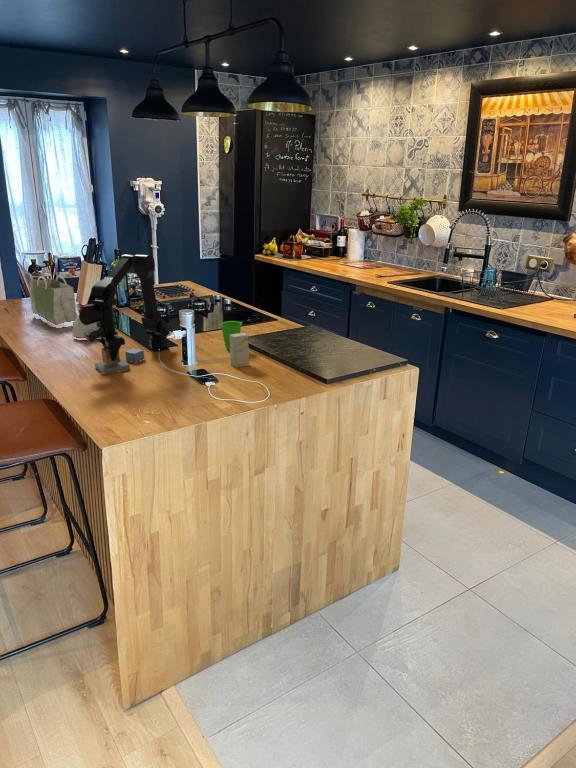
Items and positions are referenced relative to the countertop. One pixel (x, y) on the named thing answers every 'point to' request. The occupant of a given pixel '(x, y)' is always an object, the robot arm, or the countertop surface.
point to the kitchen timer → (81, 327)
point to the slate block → (134, 355)
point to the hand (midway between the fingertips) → (111, 358)
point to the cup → (230, 331)
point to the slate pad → (112, 367)
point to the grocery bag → (53, 300)
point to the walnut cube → (109, 356)
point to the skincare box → (239, 350)
